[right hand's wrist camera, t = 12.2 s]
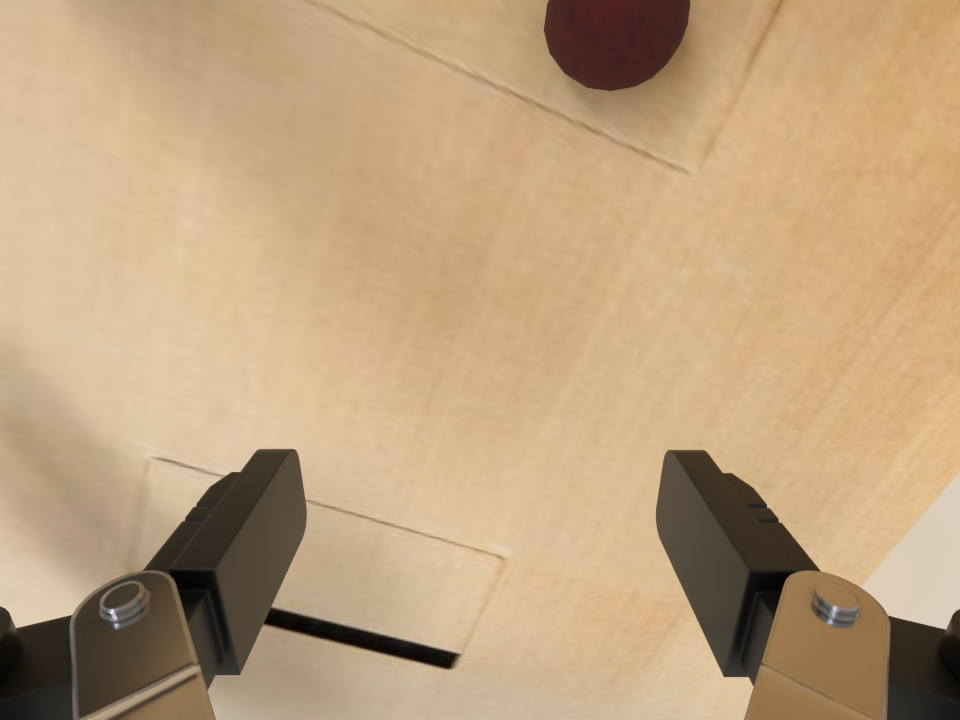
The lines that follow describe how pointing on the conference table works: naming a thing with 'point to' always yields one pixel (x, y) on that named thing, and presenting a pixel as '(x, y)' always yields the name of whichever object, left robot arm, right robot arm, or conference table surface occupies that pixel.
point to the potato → (614, 39)
